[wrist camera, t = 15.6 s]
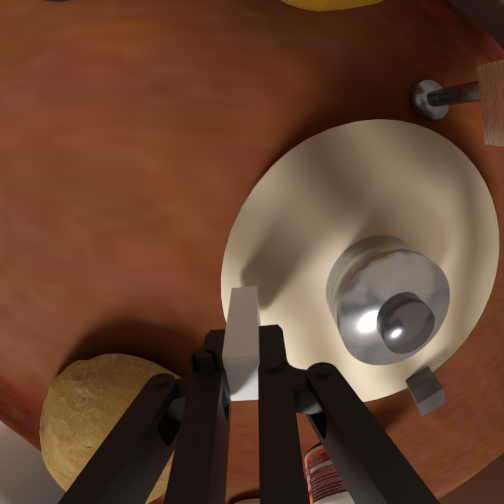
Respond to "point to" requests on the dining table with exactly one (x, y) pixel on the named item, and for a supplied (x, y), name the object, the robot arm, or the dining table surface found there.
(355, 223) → the platter
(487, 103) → the silver rod with block
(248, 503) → the teapot
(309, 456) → the pill bottle
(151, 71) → the dining table surface
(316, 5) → the apple
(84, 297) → the dining table surface
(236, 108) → the dining table surface
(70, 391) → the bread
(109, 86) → the dining table surface
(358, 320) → the cover
